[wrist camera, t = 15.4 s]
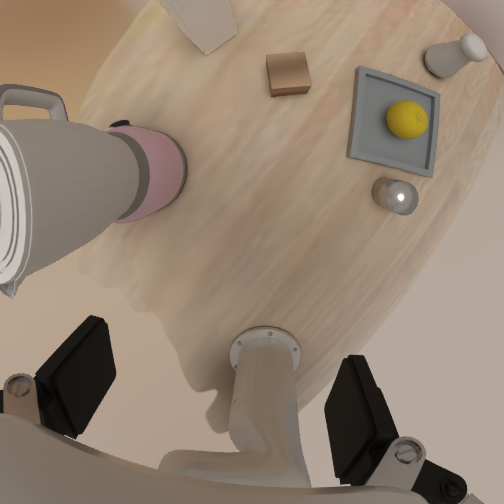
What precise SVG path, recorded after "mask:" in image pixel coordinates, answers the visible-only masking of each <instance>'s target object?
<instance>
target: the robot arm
mask: <svg viewBox="0 0 504 504" xmlns="http://www.w3.org/2000/svg"><path fill="white" fill-rule="evenodd" d="M300 360H301V351H300V347H299V344H298V342H297V341H296V340H295V338H294V337H293V336H291V335H290V334H289V333H287V332H285V331H284V330H281V329H278V328H274V327H257V328H253V329H250V330H247V331H245V332H243V333H242V334H240V335H239V336H238V337H237V338H236V339H235V340H234V342H233V344H232V346H231V349H230V362H231V365H232V367H233V368H234V370H235V371H236V374H235V381H234V388H233V395H232V401H231V408H230V415H229V422H228V430H229V434H230V437H231V440H232V441H233V443H234V445H235V446H236V447H237V449H238V450H239V451H240V452H235V453H234V452H233V453H224V452H208V451H194V450H174V451H171V452H169V453H167V454H166V455H165V456H164V457H163V459H162V460H161V462H160V464H159V468H158V469H154V468H150V467H147V466H143V465H140V464H137V463H133V462H130V461H127V460H124V459H121V458H118V457H115V456H112V455H110V454H107V453H104V452H101V451H99V450H96V449H94V448H91V447H89V446H86V445H84V444H82V443H79V442H77V441H74V440H72V439H70V438H68V437H65V436H64V435H67V436H69V437H71V438H73V439H76V438H77V436H78V434H82V433H83V432H84V430H85V428H86V427H87V425H88V423H89V422H90V420H91V418H92V416H93V414H94V413H95V411H96V409H97V408H98V406H99V405H100V403H101V401H102V399H103V398H104V396H105V395H106V393H107V391H108V389H109V388H110V386H111V385H112V383H113V381H114V379H115V377H116V368H115V364H114V358H113V353H112V348H111V341H110V335H109V329H108V324H107V323H106V322H105V321H104V319H103V318H100V317H96V316H93V315H90V316H89V317H88V318H87V319H86V320H85V321H84V322H83V323H82V324H81V325H80V326H79V327H78V328H77V329H76V330H75V331H74V332H73V333H72V334H71V335H70V336H69V337H68V338H67V339H66V340H65V341H64V342H63V343H62V345H61V346H60V347H59V348H58V349H57V350H56V351H55V352H54V353H53V354H52V355H51V357H49V359H48V360H47V361H46V362H45V363H44V364H43V365H42V366H41V367H40V369H39V370H38V371H37V372H36V373H35V374H36V376H35V377H34V378H32V377H31V376H30V375H28V374H24V373H18V374H14V375H12V376H10V377H9V378H8V379H7V380H6V382H5V384H4V388H3V390H0V504H484V503H483V502H482V501H480V500H479V499H478V498H477V497H476V496H475V495H473V494H472V493H471V494H470V495H468V494H467V485H466V482H465V480H464V479H463V478H462V477H460V476H459V475H457V474H455V473H453V472H451V471H449V470H446V469H444V468H442V467H440V466H438V465H436V464H434V463H432V462H430V461H428V460H426V459H425V457H426V451H425V448H424V446H423V445H422V443H420V441H418V440H416V439H415V438H412V437H405V436H404V437H399V435H398V432H397V430H396V427H395V424H394V421H393V419H392V416H391V414H390V411H389V408H388V406H387V403H386V401H385V399H384V396H383V394H382V391H381V389H380V388H379V387H377V385H376V383H375V380H374V378H373V375H372V373H371V371H370V368H369V366H368V363H367V361H366V359H365V357H364V356H363V355H349V356H348V358H344V359H343V361H342V364H341V366H340V369H339V371H338V374H337V377H336V379H335V382H334V384H333V387H332V389H331V392H330V394H329V396H328V399H327V401H326V403H325V408H324V412H325V418H326V423H327V429H328V435H329V441H330V447H331V453H332V459H333V466H334V472H335V477H336V478H339V479H340V484H341V485H342V484H351V486H344V487H323V488H321V487H320V488H311V482H310V477H309V474H308V471H307V467H306V464H305V461H304V456H303V452H302V447H301V441H300V433H299V422H298V411H297V400H296V389H295V379H294V372H295V370H296V369H297V368H298V366H299V364H300Z"/></svg>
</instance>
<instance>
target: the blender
mask: <svg viewBox="0 0 504 504" xmlns="http://www.w3.org/2000/svg"><path fill="white" fill-rule="evenodd" d="M4 105H21V106H30V107H38V108H44V109H47V110H48V111H49V114H50V118H51V120H49V119H21V120H3V106H4ZM185 177H186V163H185V158H184V155H183V152H182V150H181V148H180V147H179V145H178V144H177V143H176V142H175V141H174V139H173V138H172V137H170V136H168V135H166V134H164V133H162V132H158V131H154V130H148V129H144V128H139V127H133V126H132V125H130V123H129V121H128V120H121V121H118V122H115V123H113V124H111V125H110V128H108V129H105V130H104V131H100V130H98V129H95V128H93V127H90V126H88V125H85V124H81V123H76V122H69V121H68V116H67V112H66V108H65V105H64V102H63V100H62V98H61V97H60V96H59V95H58V94H57V93H54V92H51V91H47V90H43V89H39V88H34V87H29V86H23V85H17V84H4V85H1V86H0V290H1V292H2V293H3V294H4V295H5V296H7V297H9V298H11V299H12V298H13V297H14V296H15V294H16V292H17V288H18V286H19V285H20V284H21V283H22V281H23V280H24V279H25V277H26V276H28V275H30V274H32V273H34V272H35V271H38V270H40V269H42V268H44V267H46V266H48V265H50V264H52V263H54V262H56V261H57V260H59V259H61V258H63V257H64V256H66V255H68V254H69V253H71V252H73V251H74V250H76V249H78V248H80V247H82V246H83V245H85V244H87V243H88V242H90V241H91V240H92V239H94V238H95V237H96V236H98V235H99V234H100V233H101V232H103V231H104V230H105V229H106V228H107V227H108V226H109V225H110V224H112V223H129V222H133V221H136V220H139V219H141V218H143V217H145V216H147V215H149V214H151V213H153V212H155V211H158V210H160V209H162V208H164V207H166V206H168V205H169V204H170V203H172V202H173V201H174V200H175V199H176V198H177V197H178V196H179V194H180V193H181V189H182V187H183V185H184V181H185Z"/></svg>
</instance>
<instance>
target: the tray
mask: <svg viewBox="0 0 504 504" xmlns="http://www.w3.org/2000/svg"><path fill="white" fill-rule="evenodd" d="M402 100H409V101H413V102H416V103H417V104H419V105H420V106H421V107H423V109H424V110H425V112H426V114H427V117H428V127H427V129H426V131H425V132H424V133H423V134H422V135H421V136H419V137H418V138H415V139H410V140H409V139H402V138H400V137H398V136H396V135H395V134H393V132H392V131H391V130H390V129H389V127H388V124H387V120H386V117H387V112H388V110H389V108H390V107H391V106H392V105H393V104H394V103H396V102H398V101H402ZM439 110H440V94H439V93H437V92H435V91H432V90H430V89H428V88H425V87H423V86H420V85H418V84H415V83H412V82H410V81H407V80H404V79H401V78H398V77H395V76H393V75H389V74H386V73H383V72H380V71H377V70H373V69H370V68H366V67H363V66H359V67H358V68H357V69H356V73H355V85H354V97H353V107H352V116H351V125H350V133H349V141H348V149H347V156H346V157H351V158H355V159H360V160H364V161H369V162H373V163H377V164H381V165H385V166H389V167H393V168H397V169H401V170H404V171H408V172H412V173H415V174H419V175H422V176H425V177H431V178H432V177H433V170H434V163H435V155H436V147H437V137H438V125H439Z"/></svg>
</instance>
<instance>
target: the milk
mask: <svg viewBox="0 0 504 504" xmlns="http://www.w3.org/2000/svg"><path fill="white" fill-rule="evenodd" d="M158 1H159V2H160V3H161V5H162V6H163V7H164V8H165V10H166V11H167V12H168V14H169V15H170V16H171V18H172V19H173V20H174V22H175V23H176V24H177V26H178V27H179V28H180V30H181V31H182V32H183V34H184V35H185V36H186V37H187V38H188V39H190V40H191V41H192V42H193V43H194V44H195V45H196V46H197V47H198V48H199V49H200V50H201V51H202V52H203V53H204V54H205V55H206V56H208V55H209V54H210V53H212V52H213V51H214V50H216V49H217V48H218V47H220V46H221V45H222V44H224V43H225V42H227V41H228V40H229V39H231V38H232V37H234V36H235V35H237V34H238V31H237V27H236V23H235V19H234V16H233V12H232V8H231V4H230V0H158Z"/></svg>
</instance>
